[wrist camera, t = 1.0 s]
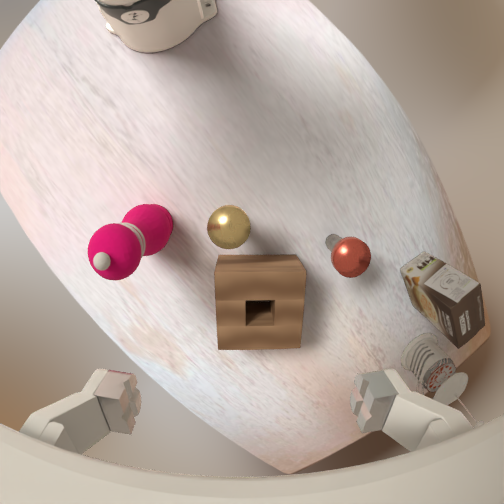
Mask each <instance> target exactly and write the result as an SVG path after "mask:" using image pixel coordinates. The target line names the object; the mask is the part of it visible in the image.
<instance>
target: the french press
mask: <svg viewBox="0 0 504 504" xmlns="http://www.w3.org/2000/svg"><path fill="white" fill-rule="evenodd" d="M444 358H445V364H443V363H444ZM446 358H448V363H447V359H446ZM441 359H442V364H441V366H440V367H438V366H439V364H440V361H441ZM437 361H438V363H437V365H436V366H435V367H434V368H432V369H430V370H428V369H429V368H431V367H432V366H433V365H434V364H435V363H436V362H437ZM401 365H402V366H403V368H404V369H406V370H409V371H412V372H413V373H414V375H415V376H416V377H417V379H418V385H417V393H418V386H419V382H420V383H421V384H422V385H423V387H424V388H426V389H427V390H428V391H429V392H436V394H435V395H434V397H433V400H435V401H438V402H440V403H442V404H444V405H448V404H450V403H451V402H453V401H455V400H456V399H458V400H459V398H458V397H459V396H460V395H461V393H462V392H463V391H464V390H465V387H466V385H467V382H468V376H467V374H465V373H463V372H460V373H455V371H456V367H455V365H454V364H453V361H452V360H451V359H450V358H449V357H448V355H447V354H446V353H445V352H444V351H443V350H442V349H441V348H440V347H439V346H438V340H437V338H436V336H435V335H433V334H431V333H426V334H422V335H420V336H418V337H416V338H415V339H414V340H412V341H411V342H410V343H409V344H408V346H407V347H406V348H405V350H404V352H403V354H402V357H401ZM437 367H438V368H437ZM436 368H437V369H436ZM435 369H436V370H435ZM433 370H435V371H434V372H433V373H430V372H431V371H433ZM416 371H417V374H416ZM419 375H420V378H419ZM423 380H424V382H422V381H423ZM425 382H426V384H427V387H426V386H425V384H424V383H425ZM423 387H422V393H423V395H424V392H423ZM459 401H460V400H459ZM460 402H461V401H460ZM461 404H462V405H463V406H464V404H463V403H462V402H461ZM464 407H465V406H464ZM465 409H466V410H467V411H468V409H467V408H466V407H465ZM468 413H469V414H470V415H471V413H470V412H469V411H468ZM471 416H472V415H471ZM472 418H473V419H474V420H475V418H474V417H473V416H472ZM475 422H476V423H477V424H476V425H475V427H474V428H477V427H479V426H481V425H483V424H484V422H483V420H481V421H479V422H477V421H476V420H475Z"/></svg>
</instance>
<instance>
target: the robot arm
mask: <svg viewBox="0 0 504 504" xmlns="http://www.w3.org/2000/svg"><path fill="white" fill-rule="evenodd" d="M95 1H96V3H97V5H98V6H99V10H100V12H101V14H102V15H103V17H104V18H105V19H106V21H107V24H106V28H107V30H108V31H109V32H111V33H113V34H115V35H118V36H119V37H120V39H121V40H122V41H123V43H124V44H125V45H126V46H128V47H129V48H131V49H133V50H135V51H139V52H158V51H163V50H166V49H169V48H171V47H174V46H176V45H178V44H179V43H181V42H183V41H184V40H185V39H187V38H188V37H189V36H190V35H191V34H192V33H193V32H194V31H195V30H196V29H197V28H198V27H199V26H200V25H201V24H202V23H203V22H205V21H207V20H209V19H211V18H212V17H214V16H215V15H216V14H217V7H216V3H215V0H95ZM207 5H210V6H209V7H206V6H207ZM354 383H355V385H356V387H355V388H354V389H353V390H352V392H351V396H350V405H351V409H352V412H353V414H355V415H357V416H358V419H357V423H358V426H359V428H360V430H361V432H362V433H366V432H372V431H377V430H382V431H383V432H385V433H386V434H387V435H389V436H390V437H391V438H393V439H394V440H396V441H397V442H399V443H400V444H401V445H403V446H404V447H405V448H407V449H408V450H409V451H411V452H410V453H407V454H403V455H400V456H396V457H393V458H388V459H385V460H381V461H376V462H372V463H367V464H363V465H358V466H353V467H347V468H342V469H336V470H329V471H322V472H315V473H307V474H296V475H284V476H267V477H218V476H199V475H187V474H178V473H169V472H162V471H155V470H148V469H142V468H136V467H131V466H126V465H121V464H117V463H112V462H108V461H104V460H100V459H96V458H92V457H89V456H85V455H82V454H83V453H84V452H85V451H87V450H88V449H89V448H91V447H92V446H93V445H94V444H96V443H97V442H98V441H100V440H101V439H102V438H104V437H105V436H106V435H107V434H109V433H110V431H112V432H118V433H125V434H131V433H132V431H133V428H134V425H135V423H136V422H135V419H134V417H135V416H137V415H138V414H139V412H140V409H141V395H140V391H139V390H138V389H137V388H136V384H137V379H136V376H135V375H134V374H133V373H126V372H119V371H113V370H106V369H99V368H98V369H96V370H95V372H94V373H93V375H92V376H91V378H90V379H89V381H88V383H87V384H86V385H85V387H84V388H83V390H82V392H81V393H80V392H77V393H75V394H72V395H70V396H68V397H67V398H64V399H62V400H60V401H58V402H55V403H53V404H51V405H49V406H47V407H45V408H42V409H40V410H38V411H36V412H34V413H32V414H31V415H30V417H29V418H28V419H27V421H26V422H25V424H24V425H23V426H22V428H21V429H20V431H19V432H18V431H16V430H14V429H11V428H9V427H7V426H5V425H2V424H1V423H0V504H504V414H503V415H501V416H499V417H497V418H495V419H494V420H491V421H489V422H487V423H485V424H483V425H481V426H479V427H477V428H473V427H472V426H471V424H470V423H469V422H468V420H467V419H466V418H465V417H464V415H463V414H462V413H461V412H460V411H458V410H456V409H454V408H451V407H449V406H447V405H444V404H442V403H440V402H438V401H435V400H433V399H431V398H429V397H426V396H424V395H422V394H420V393H417V392H415V391H413V392H411V391H410V389H409V388H408V387H407V385H406V384H405V382H404V381H403V380H402V378H401V377H400V375H399V374H398V373H397V371H396V370H395V369H393V368H390V369H384V370H381V371H373V372H366V373H358V374H357V375H356V377H355V380H354Z"/></svg>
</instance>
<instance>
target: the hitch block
mask: <svg viewBox="0 0 504 504" xmlns="http://www.w3.org/2000/svg"><path fill="white" fill-rule="evenodd" d="M214 276H215V300H216V320H217V338H218V350H257V349H288V348H300V344H301V334H302V323H303V311H304V299H305V286H306V270H305V268H304V267H303V265H302V264H301V262H300V260H299V259H298V257H297V256H296V255H218V259H217V264H216V268H215V272H214ZM245 300H269V302H245Z"/></svg>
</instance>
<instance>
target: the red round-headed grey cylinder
mask: <svg viewBox="0 0 504 504" xmlns="http://www.w3.org/2000/svg"><path fill="white" fill-rule="evenodd" d="M325 243H326V246H327V248H328V249H329V250H330V251H331V252H332V253H331V261H332V264H333V266H334V268H335V269H336V270H337V271H338V272H339V273H340V274H341V275H343V276H345V277H349V278H352V277H357V276H359V275H361V274H362V273H363V272H364V271H365V270H366V269H367V268H368V266H369V264H370V260H371V253H370V249H369V247H368V246H367V245H366V244H365V243H364V242H363V241H361V240H360V239H358V238H356V237H345V238H343V239H342V238H341V237H339V236H338V235H336V234H331V235H329V236H328V237H327V239H326V242H325Z"/></svg>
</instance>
